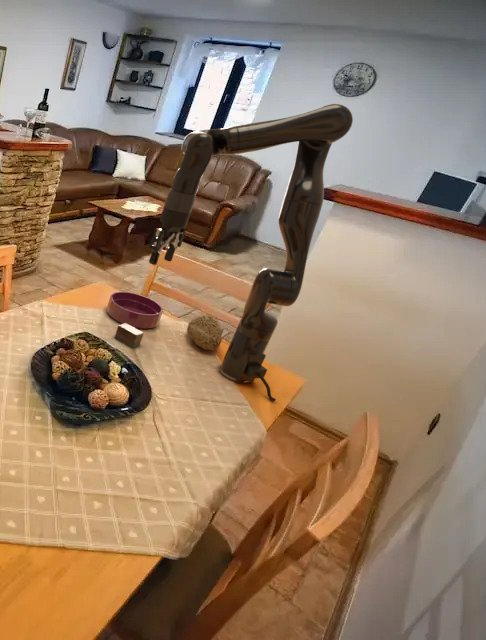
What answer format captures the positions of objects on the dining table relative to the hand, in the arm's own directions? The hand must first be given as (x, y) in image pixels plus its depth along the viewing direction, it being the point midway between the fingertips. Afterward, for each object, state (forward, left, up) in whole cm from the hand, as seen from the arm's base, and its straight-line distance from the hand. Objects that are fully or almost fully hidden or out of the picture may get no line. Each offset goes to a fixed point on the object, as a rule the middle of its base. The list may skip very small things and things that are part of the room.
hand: (160, 262), depth 147 cm
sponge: (-2, -26, -26) cm, 37 cm away
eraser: (-1, +4, -26) cm, 26 cm away
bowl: (+15, -8, -26) cm, 31 cm away
